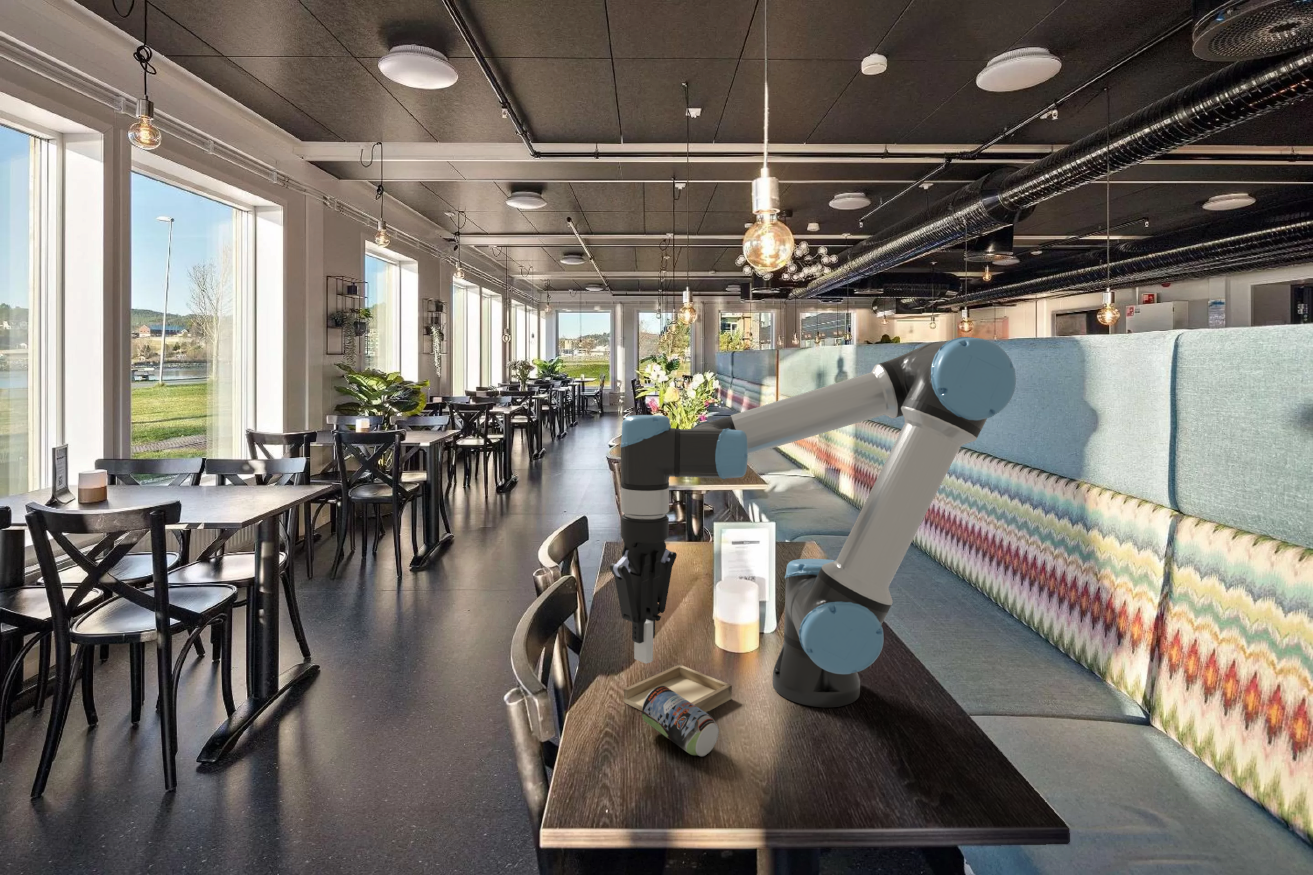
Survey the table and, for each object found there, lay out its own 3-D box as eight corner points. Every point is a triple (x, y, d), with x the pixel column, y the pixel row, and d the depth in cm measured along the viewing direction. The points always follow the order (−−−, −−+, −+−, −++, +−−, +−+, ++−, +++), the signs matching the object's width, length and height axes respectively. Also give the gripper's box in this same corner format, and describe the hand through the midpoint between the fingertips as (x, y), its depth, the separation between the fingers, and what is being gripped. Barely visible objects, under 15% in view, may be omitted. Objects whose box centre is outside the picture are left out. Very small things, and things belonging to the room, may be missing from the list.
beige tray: (731, 698, 118) (731, 685, 117) (676, 728, 107) (677, 713, 107) (679, 676, 126) (679, 664, 126) (623, 702, 116) (624, 688, 115)
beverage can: (665, 678, 109) (726, 703, 101) (661, 724, 109) (722, 753, 101) (638, 687, 104) (700, 714, 96) (634, 735, 105) (695, 766, 97)
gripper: (656, 505, 115) (654, 642, 117) (597, 516, 105) (597, 665, 107) (690, 511, 109) (688, 654, 112) (631, 523, 100) (630, 679, 102)
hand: (643, 659), depth 109 cm, fingers closed
